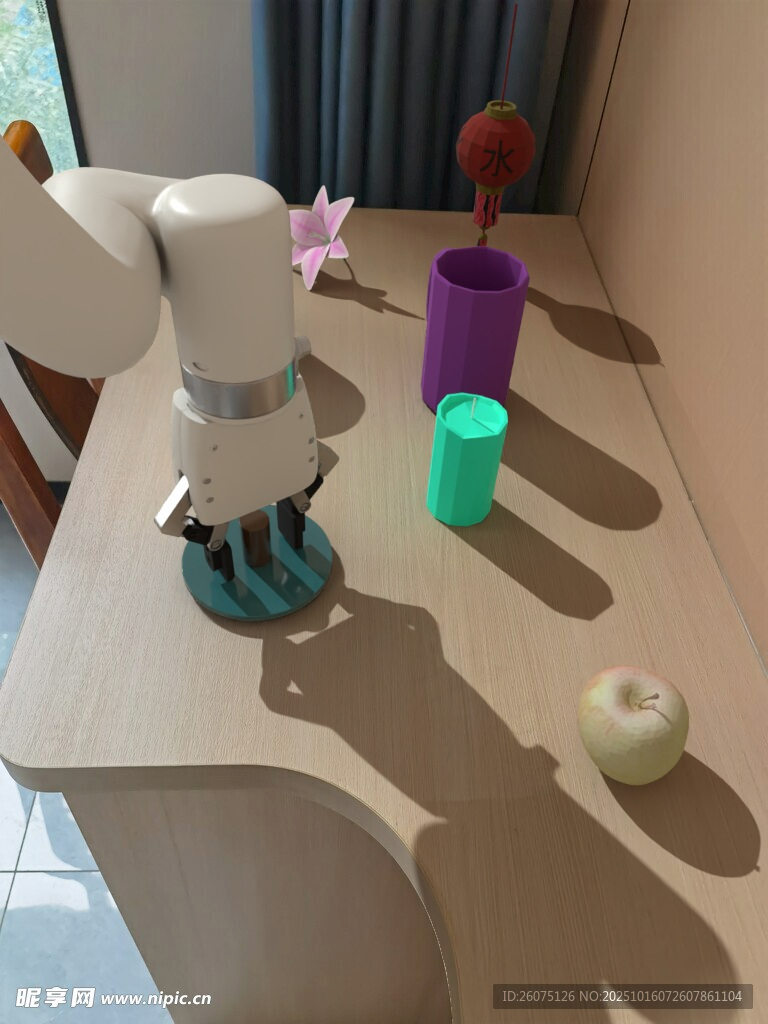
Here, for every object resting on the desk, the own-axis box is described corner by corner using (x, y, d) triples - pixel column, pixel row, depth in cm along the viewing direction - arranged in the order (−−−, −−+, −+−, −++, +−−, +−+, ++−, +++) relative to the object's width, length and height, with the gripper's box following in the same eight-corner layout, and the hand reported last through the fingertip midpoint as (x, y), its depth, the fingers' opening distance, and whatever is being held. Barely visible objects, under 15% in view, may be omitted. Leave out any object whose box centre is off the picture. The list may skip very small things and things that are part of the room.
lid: (175, 628, 62) (165, 582, 58) (190, 515, 71) (182, 468, 67) (334, 623, 63) (335, 577, 59) (330, 512, 72) (330, 466, 68)
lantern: (515, 287, 102) (565, 19, 81) (441, 281, 102) (471, 12, 81) (513, 252, 108) (558, -5, 87) (443, 246, 109) (471, -11, 87)
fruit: (694, 768, 56) (735, 708, 50) (615, 818, 53) (649, 760, 48) (621, 686, 61) (651, 622, 55) (545, 728, 58) (568, 665, 52)
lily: (287, 249, 108) (257, 199, 100) (368, 216, 106) (344, 162, 98) (302, 318, 103) (271, 271, 95) (388, 285, 101) (364, 234, 93)
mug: (436, 431, 81) (452, 298, 70) (389, 346, 91) (397, 220, 81) (519, 417, 83) (547, 286, 73) (464, 336, 93) (481, 211, 83)
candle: (412, 499, 74) (422, 394, 65) (458, 472, 77) (473, 368, 68) (458, 536, 71) (476, 431, 62) (504, 506, 74) (526, 402, 65)
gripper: (321, 312, 59) (322, 489, 72) (93, 383, 52) (140, 566, 65) (377, 363, 55) (368, 542, 68) (138, 448, 48) (179, 630, 60)
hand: (257, 552), depth 66 cm, fingers open, 5 cm apart
